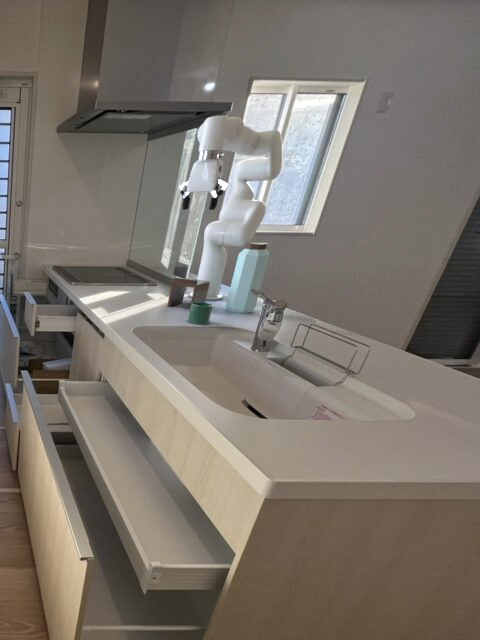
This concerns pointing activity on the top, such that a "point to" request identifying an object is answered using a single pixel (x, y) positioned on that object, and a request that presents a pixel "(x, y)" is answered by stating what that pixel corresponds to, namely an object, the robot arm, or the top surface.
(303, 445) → the top surface
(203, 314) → the pot
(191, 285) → the shelf
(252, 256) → the water bottle
